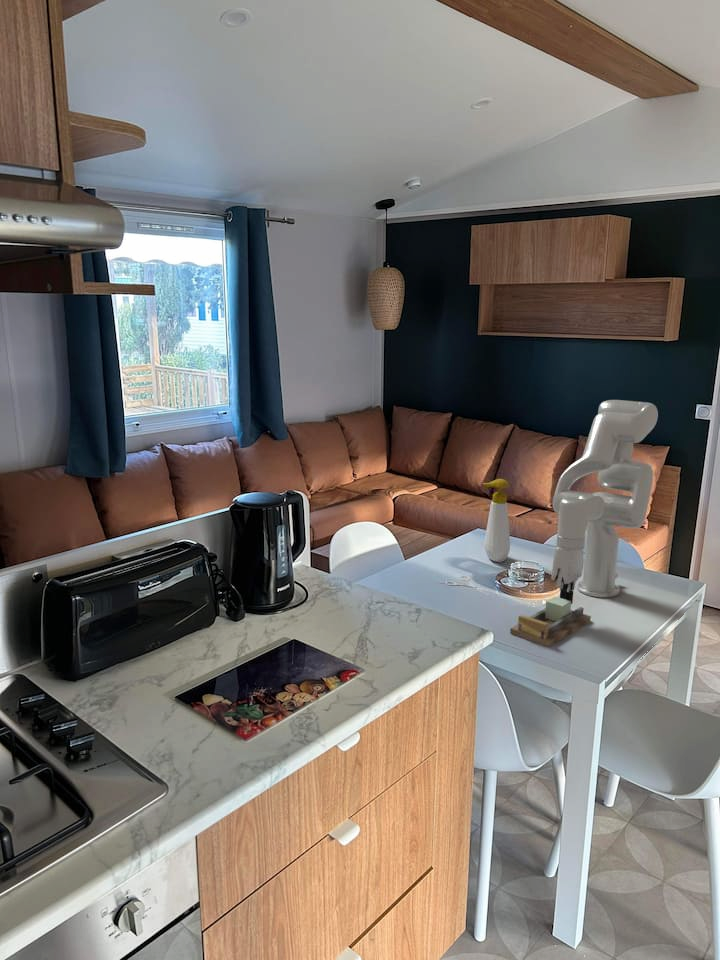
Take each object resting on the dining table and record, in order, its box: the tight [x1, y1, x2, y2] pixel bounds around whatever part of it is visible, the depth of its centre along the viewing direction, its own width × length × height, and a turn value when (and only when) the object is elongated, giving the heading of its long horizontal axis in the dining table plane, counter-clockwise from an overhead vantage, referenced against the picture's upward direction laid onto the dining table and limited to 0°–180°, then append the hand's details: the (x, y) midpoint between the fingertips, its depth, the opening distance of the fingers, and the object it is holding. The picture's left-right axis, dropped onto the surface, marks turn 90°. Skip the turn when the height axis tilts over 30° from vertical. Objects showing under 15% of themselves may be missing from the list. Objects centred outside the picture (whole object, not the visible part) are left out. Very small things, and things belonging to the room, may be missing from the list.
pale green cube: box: [545, 596, 572, 621], centre depth 207 cm, size 5×5×5 cm
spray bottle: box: [481, 478, 511, 563], centre depth 257 cm, size 13×10×29 cm
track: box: [509, 606, 592, 648], centre depth 205 cm, size 23×12×6 cm, turn 137°
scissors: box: [438, 575, 498, 597], centre depth 235 cm, size 11×1×20 cm
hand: (565, 603), depth 210 cm, fingers closed
